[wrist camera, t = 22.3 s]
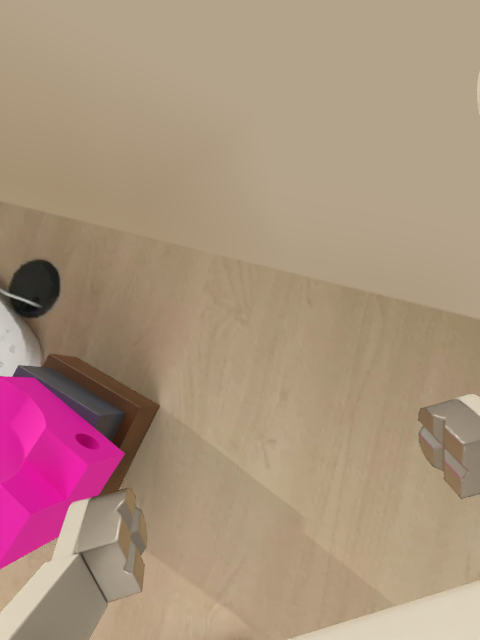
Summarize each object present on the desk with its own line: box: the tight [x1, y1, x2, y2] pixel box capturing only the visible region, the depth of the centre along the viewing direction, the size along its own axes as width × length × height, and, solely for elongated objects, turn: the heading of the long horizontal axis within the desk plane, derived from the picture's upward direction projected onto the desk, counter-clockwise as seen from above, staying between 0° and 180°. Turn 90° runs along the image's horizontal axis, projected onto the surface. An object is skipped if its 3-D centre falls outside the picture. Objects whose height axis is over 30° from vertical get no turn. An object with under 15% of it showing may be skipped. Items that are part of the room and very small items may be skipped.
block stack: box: [13, 354, 159, 495], centre depth 34 cm, size 10×11×8 cm
